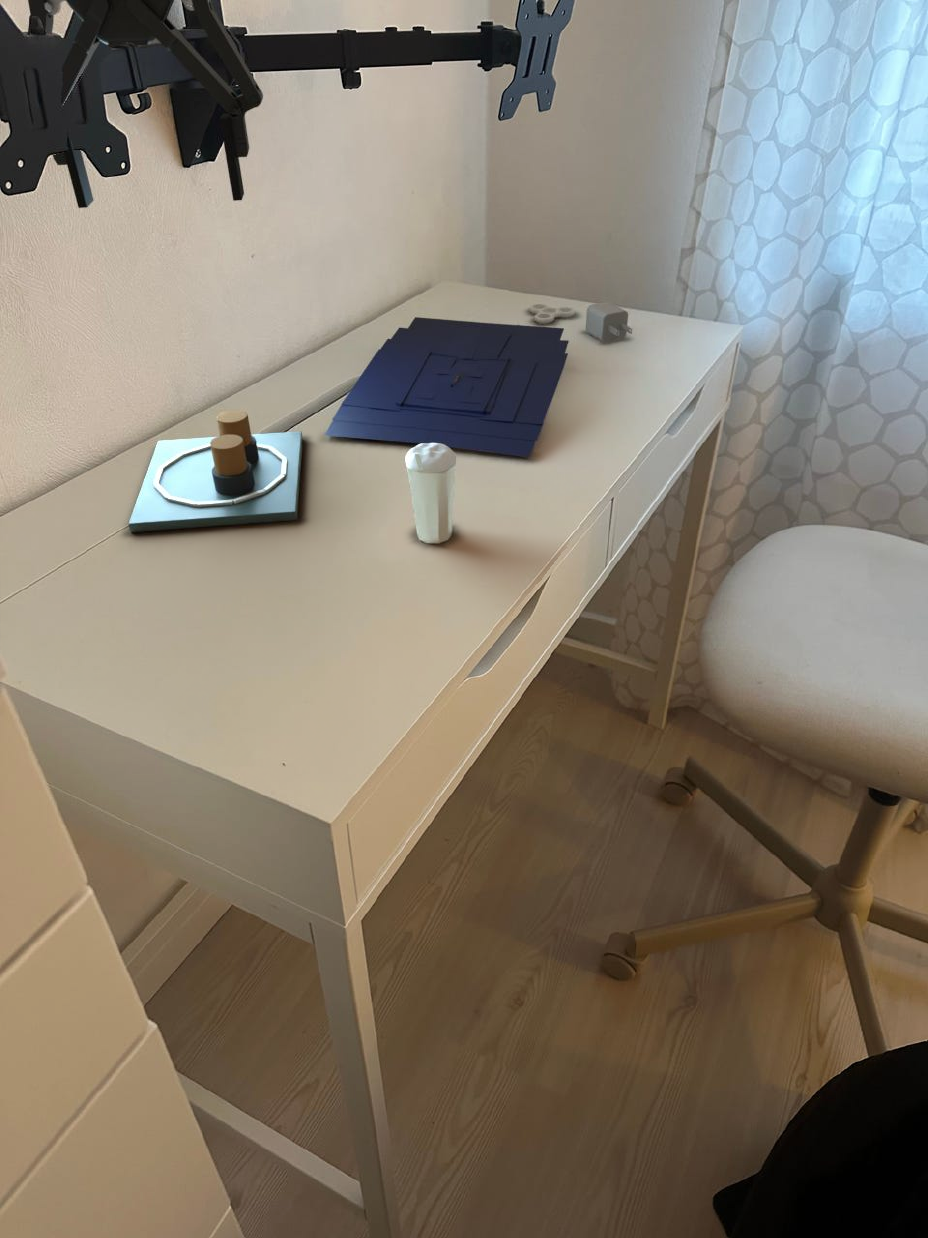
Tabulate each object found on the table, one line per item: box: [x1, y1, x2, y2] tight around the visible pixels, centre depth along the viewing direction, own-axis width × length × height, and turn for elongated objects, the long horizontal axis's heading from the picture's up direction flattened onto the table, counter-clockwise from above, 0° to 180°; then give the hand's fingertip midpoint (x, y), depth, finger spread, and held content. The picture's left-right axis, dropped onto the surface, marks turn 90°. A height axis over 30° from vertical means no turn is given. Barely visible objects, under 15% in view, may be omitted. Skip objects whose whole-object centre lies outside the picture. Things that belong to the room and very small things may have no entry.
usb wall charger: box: [585, 301, 633, 344], centre depth 124 cm, size 4×7×4 cm, turn 25°
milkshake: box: [404, 443, 457, 544], centre depth 82 cm, size 4×5×10 cm
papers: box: [324, 316, 570, 458], centre depth 110 cm, size 24×30×4 cm
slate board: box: [128, 430, 303, 533], centre depth 94 cm, size 16×18×1 cm
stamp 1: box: [216, 409, 259, 464], centre depth 95 cm, size 4×4×5 cm
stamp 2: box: [210, 435, 255, 496], centre depth 90 cm, size 4×4×5 cm
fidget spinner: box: [529, 303, 576, 324], centre depth 132 cm, size 7×6×1 cm
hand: (163, 200), depth 81 cm, fingers open, 13 cm apart
